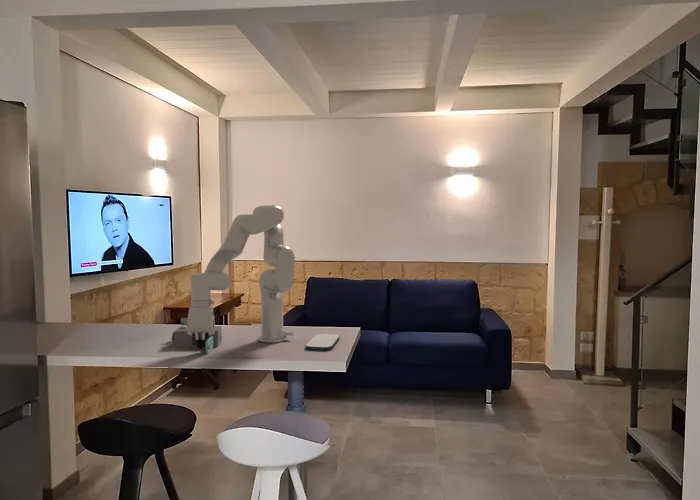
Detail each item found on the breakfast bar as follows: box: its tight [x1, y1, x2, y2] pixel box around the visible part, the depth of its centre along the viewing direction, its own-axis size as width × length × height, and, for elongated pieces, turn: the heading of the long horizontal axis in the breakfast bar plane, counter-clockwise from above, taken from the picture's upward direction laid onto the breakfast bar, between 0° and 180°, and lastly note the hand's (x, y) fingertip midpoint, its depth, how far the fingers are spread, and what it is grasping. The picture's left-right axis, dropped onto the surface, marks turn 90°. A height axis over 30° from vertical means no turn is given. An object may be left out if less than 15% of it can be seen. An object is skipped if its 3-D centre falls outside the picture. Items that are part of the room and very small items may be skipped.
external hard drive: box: [305, 333, 341, 352], centre depth 218 cm, size 24×12×2 cm, turn 171°
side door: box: [205, 336, 215, 354], centre depth 206 cm, size 10×2×5 cm, turn 2°
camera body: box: [171, 324, 223, 349], centre depth 215 cm, size 20×10×8 cm, turn 94°
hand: (201, 348), depth 203 cm, fingers closed
